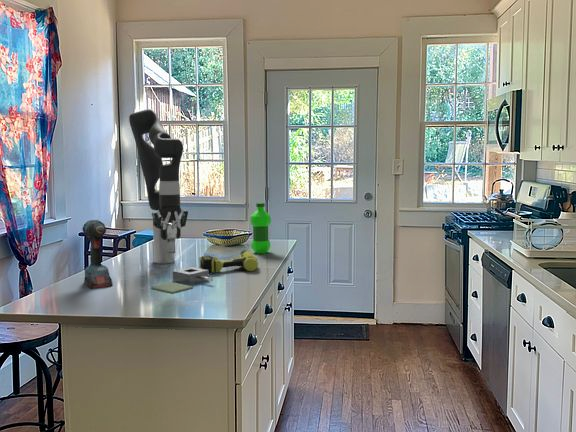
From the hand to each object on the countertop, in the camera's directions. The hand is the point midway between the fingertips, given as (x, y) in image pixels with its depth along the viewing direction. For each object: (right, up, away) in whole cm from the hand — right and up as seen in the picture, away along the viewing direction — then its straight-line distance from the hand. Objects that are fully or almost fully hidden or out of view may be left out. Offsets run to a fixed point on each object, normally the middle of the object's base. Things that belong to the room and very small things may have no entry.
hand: (170, 238), depth 213 cm
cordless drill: (+17, -15, +40) cm, 46 cm away
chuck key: (0, -5, 0) cm, 5 cm away
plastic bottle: (+30, -10, +75) cm, 81 cm away
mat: (0, -19, +2) cm, 19 cm away
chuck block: (+8, -17, +13) cm, 23 cm away
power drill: (-30, -18, +9) cm, 36 cm away
